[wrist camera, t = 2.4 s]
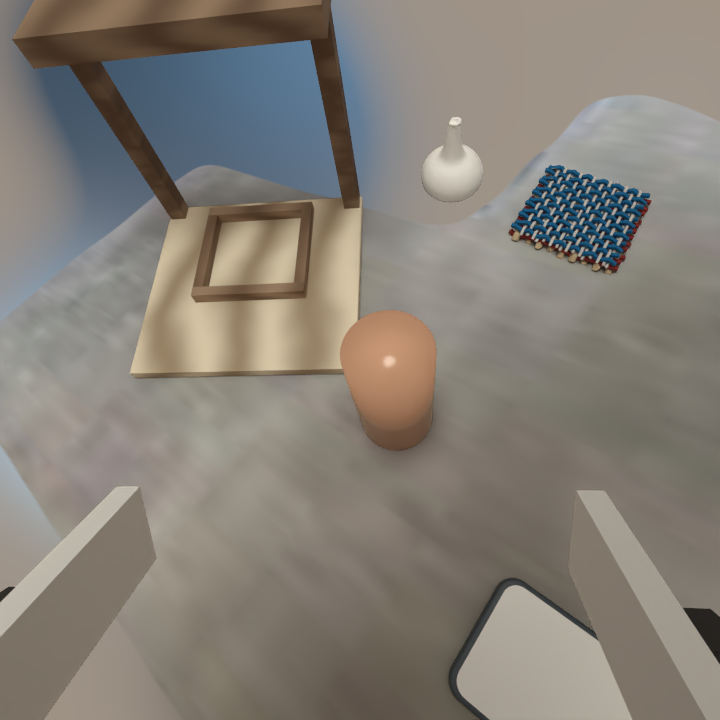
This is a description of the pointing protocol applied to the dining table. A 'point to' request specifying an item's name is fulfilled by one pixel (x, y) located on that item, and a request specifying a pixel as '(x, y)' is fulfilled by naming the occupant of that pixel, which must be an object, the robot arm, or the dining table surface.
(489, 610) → the phone case
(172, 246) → the wooden c-frame stand
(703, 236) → the dining table surface
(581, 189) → the woven mat
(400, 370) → the tan cylinder
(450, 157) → the garlic bulb
